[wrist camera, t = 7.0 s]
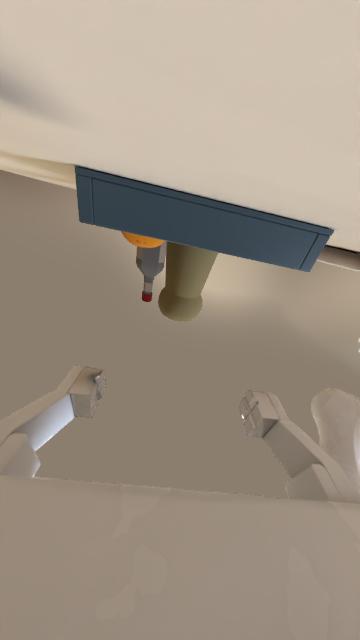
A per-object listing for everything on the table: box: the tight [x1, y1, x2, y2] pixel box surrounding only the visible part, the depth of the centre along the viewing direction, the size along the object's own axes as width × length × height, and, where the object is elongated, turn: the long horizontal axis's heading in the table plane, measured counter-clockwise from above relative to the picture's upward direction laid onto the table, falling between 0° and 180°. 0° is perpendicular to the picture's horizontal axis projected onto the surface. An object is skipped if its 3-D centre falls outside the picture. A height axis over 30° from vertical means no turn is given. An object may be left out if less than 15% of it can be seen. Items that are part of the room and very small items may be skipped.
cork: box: [158, 241, 218, 321], centre depth 18 cm, size 6×6×11 cm
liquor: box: [136, 241, 167, 302], centre depth 59 cm, size 9×9×30 cm
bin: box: [75, 166, 334, 272], centre depth 16 cm, size 15×15×2 cm
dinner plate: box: [316, 246, 360, 271], centre depth 41 cm, size 28×27×3 cm
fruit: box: [121, 231, 164, 248], centre depth 37 cm, size 10×10×8 cm
